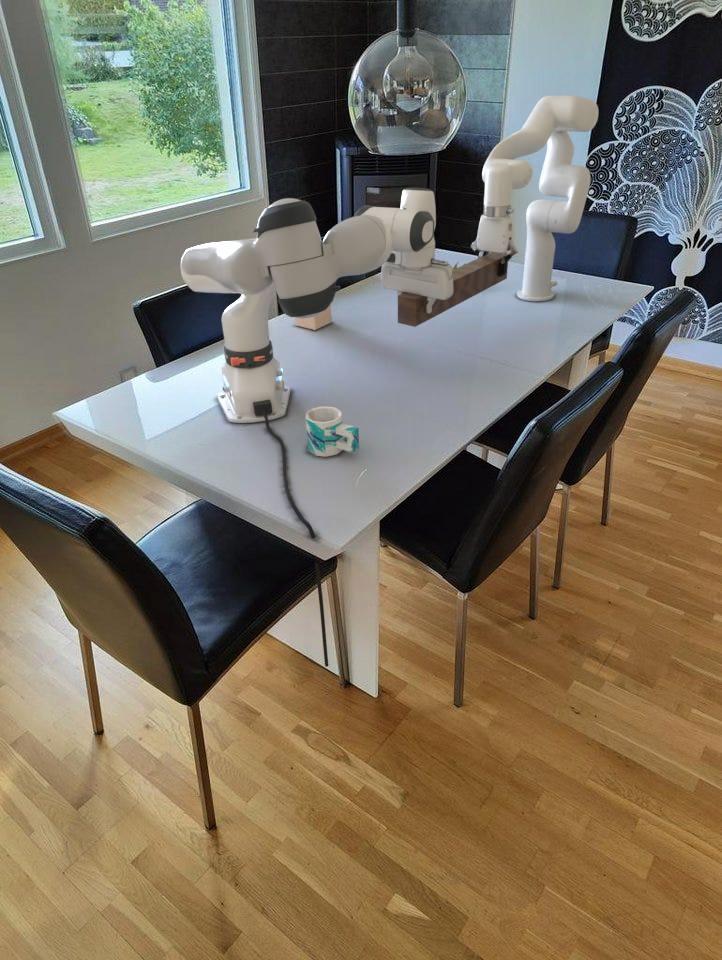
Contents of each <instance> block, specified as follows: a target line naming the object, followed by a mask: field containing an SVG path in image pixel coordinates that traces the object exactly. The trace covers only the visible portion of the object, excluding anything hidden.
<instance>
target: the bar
mask: <svg viewBox="0 0 722 960" xmlns="http://www.w3.org/2000/svg"><path fill="white" fill-rule="evenodd" d="M499 263H501V260H500V256H499V253H493V252H488V253H487V255H485V256H482V257H480V258H478V257H477V258H476V259H474V260H472V261H470V262H467V263H464V264H465V265H464V264H463V265H460V266H458V267H457V268H456V269H454V270H453V295H452V296H451V297H450V298H448V299H446V300H441V299H436V300H435V302H434V304H433V305H432V312H431V313H429V314H428V313H424V312H423V311H424V306H426V305H427V304H428V302H429V301H427V297H426V296H421V295H416V294H410V293H405V292H404V293H402V294H400V295H397V324H401V325H405V326H410V327H413V328H417V327H418V326H420V325H422V324H424V323H426V322H427V321H429V320H431V319H433V318H435V317H437V316H438V315H440V314H442V313H444V312H446V311H448V310H450V309H452V308H454V307H455V306H458V305H460V304H461V303H463V302H465V301H467V300H468V299H469V300H470V299H471V298H473V297H475V296H476V295H478V294H481V293H482V292H484V291H486V290H488V289H490V288H492V287H494V286H496V285H497V284H499V283H501V282H504V281H505V280H507V278H508V269H509V268H508V267H509V261H508V262H507V268H506V273H505V275H503V276H501V277H499V276H498V271H499Z"/></svg>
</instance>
